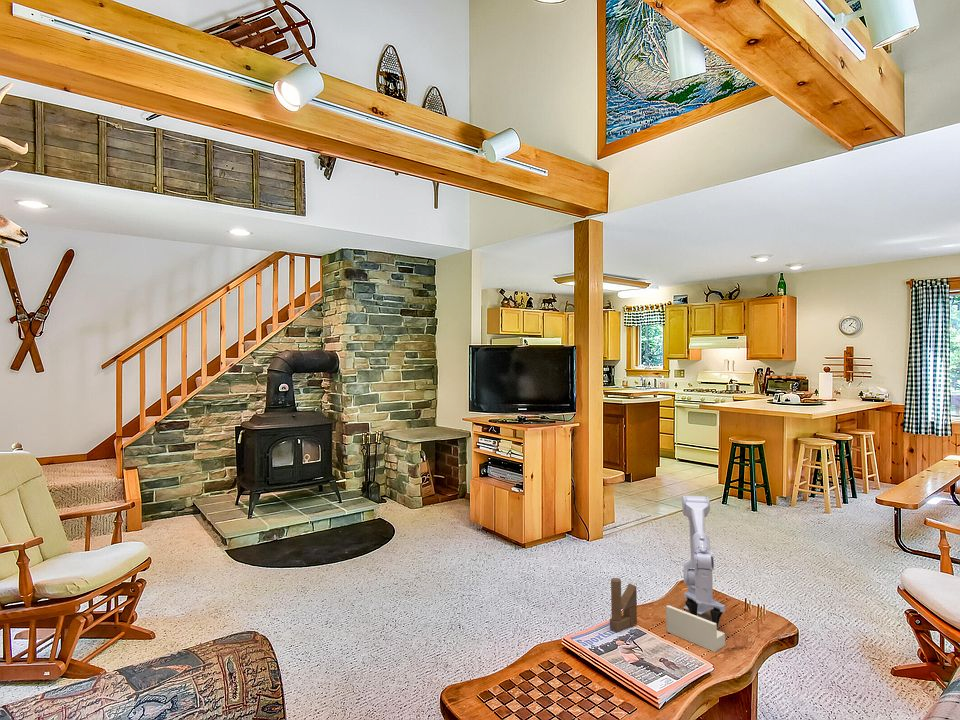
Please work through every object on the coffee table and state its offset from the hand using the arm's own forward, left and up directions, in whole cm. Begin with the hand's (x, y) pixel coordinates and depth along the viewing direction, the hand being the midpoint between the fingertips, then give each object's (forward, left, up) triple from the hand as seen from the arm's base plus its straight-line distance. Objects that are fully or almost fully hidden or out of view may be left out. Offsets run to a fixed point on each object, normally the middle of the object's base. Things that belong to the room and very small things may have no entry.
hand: (704, 624), depth 189 cm
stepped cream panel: (+7, 0, -3) cm, 7 cm away
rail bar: (-1, 0, -3) cm, 3 cm away
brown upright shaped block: (+19, -21, -3) cm, 28 cm away
